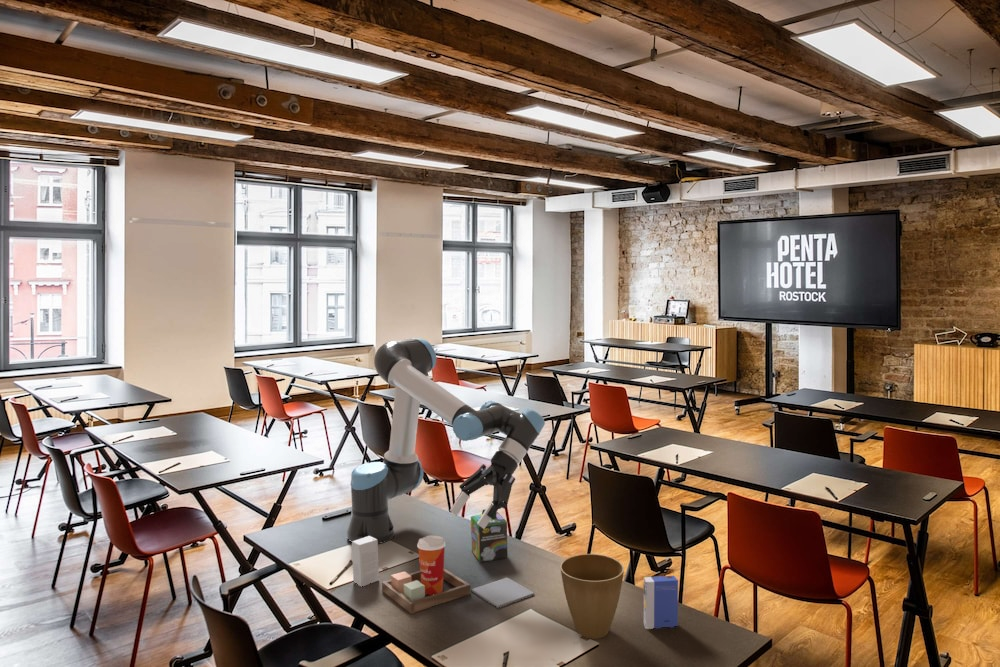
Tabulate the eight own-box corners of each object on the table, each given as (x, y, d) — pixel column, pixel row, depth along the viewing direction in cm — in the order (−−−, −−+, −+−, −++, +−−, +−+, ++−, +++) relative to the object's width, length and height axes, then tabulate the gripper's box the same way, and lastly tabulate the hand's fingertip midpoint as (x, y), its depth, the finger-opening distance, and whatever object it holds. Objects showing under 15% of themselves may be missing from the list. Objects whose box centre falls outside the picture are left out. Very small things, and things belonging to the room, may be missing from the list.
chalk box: (499, 547, 217) (498, 501, 215) (508, 558, 208) (508, 510, 207) (470, 551, 214) (469, 504, 212) (479, 563, 205) (478, 514, 204)
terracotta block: (391, 593, 186) (391, 575, 186) (404, 589, 189) (404, 571, 188) (398, 598, 183) (398, 580, 183) (411, 594, 185) (411, 576, 185)
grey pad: (471, 591, 186) (471, 589, 186) (507, 579, 194) (507, 577, 193) (497, 608, 177) (497, 606, 177) (534, 595, 184) (534, 592, 184)
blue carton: (673, 621, 169) (674, 573, 168) (677, 627, 166) (678, 578, 165) (642, 623, 168) (642, 575, 167) (645, 629, 165) (646, 580, 164)
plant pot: (561, 614, 173) (560, 552, 172) (621, 617, 171) (621, 554, 170) (560, 646, 158) (559, 579, 157) (626, 649, 157) (626, 581, 155)
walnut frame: (382, 591, 187) (381, 582, 187) (439, 573, 198) (439, 565, 198) (411, 613, 174) (410, 604, 174) (470, 593, 185) (470, 584, 185)
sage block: (404, 602, 181) (403, 584, 180) (417, 598, 183) (417, 580, 183) (411, 608, 177) (411, 589, 177) (425, 604, 180) (424, 585, 179)
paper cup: (412, 590, 187) (411, 540, 186) (433, 581, 193) (432, 532, 192) (431, 599, 182) (430, 548, 181) (452, 589, 188) (451, 539, 186)
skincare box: (370, 576, 197) (369, 535, 196) (379, 580, 194) (378, 539, 193) (352, 582, 193) (351, 541, 192) (360, 587, 190) (359, 545, 189)
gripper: (543, 473, 192) (501, 539, 185) (490, 456, 212) (450, 515, 204) (528, 458, 189) (484, 524, 181) (475, 442, 209) (434, 501, 201)
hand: (466, 519), depth 193 cm, fingers open, 13 cm apart
